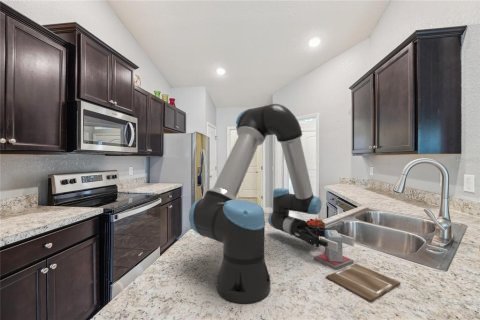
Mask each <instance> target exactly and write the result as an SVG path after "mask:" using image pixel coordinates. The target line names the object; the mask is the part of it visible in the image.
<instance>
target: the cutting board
mask: <svg viewBox="0 0 480 320" xmlns="http://www.w3.org/2000/svg"><path fill="white" fill-rule="evenodd" d="M325 278H326V279H327V280H328V281H330V282H333V284H336V285H337V286H340V287H341V288H342V289H345V290H347V291H349V292H350V293H352V294H353V295H356V296H358V297H360V298H361V299H364V300H365V301H367V302H369V303H373V302H374V301H376V300H377V299H379V298H381V297H382V296H384V295H386V294H387V293H389V292H390V291H392V290H394V289H395V288H397V287H399V286H400V285H401V282H400V281H398V280H396V279H394V278H392V277H389V276H386V275H384V274H381V273H378V272H377V271H375V270H372V269H370V268H367V267H364V266H363V265H360V264H357V263H355V264H354V263H353V265H352V264H351V265H348V266H346V267H344V268H343V269H342V268H341V269H339V270H338V271H337V270H336V271H335V272H333V273H331V274H328V275H326V276H325Z"/></svg>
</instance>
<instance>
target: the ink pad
mask: <svg viewBox="0 0 480 320" xmlns="http://www.w3.org/2000/svg"><path fill="white" fill-rule="evenodd" d="M312 260H314V261H315V262H318V263H320V264H323V266H327V267H329V268H331V269H333V270H334V271H337V270H338V271H339V270H341V269H342V268H346V267H348V266H351V265H352V264H354V259H352V258H349V257H347V256H344V255H343V262H332V261H329V259H328V257H327V255H326V253H325V252H323V253H320V254H318V255H314V256H313V259H312Z"/></svg>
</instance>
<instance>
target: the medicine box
mask: <svg viewBox="0 0 480 320" xmlns="http://www.w3.org/2000/svg"><path fill="white" fill-rule="evenodd" d="M337 231H338V230H337ZM337 231H336V230H335V229H332V230H325V237H324V238H325V239H328V240H331V241H333V242H336V243H338V252H336V251H333V250H331V249H328V248H326V247H324V253H326V255H327V257H328V259H329V261H332V262H343V256H344V255H343V254H344V253H343V243H342V237H341V236H340V234H341V233H340V232H339V233H338V232H337Z"/></svg>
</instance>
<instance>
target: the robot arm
mask: <svg viewBox="0 0 480 320" xmlns="http://www.w3.org/2000/svg"><path fill="white" fill-rule="evenodd" d="M235 121H236V122H235V124H236V126H235V129H236V135H237V139H236V141H235V142H234V145H233V147H232V149H231V150H230V153H229V155H228V157H227V159H226V161H225V163H224V165H223V167H222V169H221V171H220V173H219V175H218V177H217V180H216V181H215V184H214V186H213V187H212V188H210V189H207V190H206V192H205V194H204V195H203V197H202V198H199V199H197V200H196V201H194V203H192V205H191V207H190V210H189V213H188V222H189V226H190V227H191V229H192V230H193V231H194V232H195V233H197V234H199V236H201V237H204V238H208V239H211V240H214V241H215V242H219V243H221V244H223V246H222V247H223V249H222V250H223V254H222V261H221V264H220V268H219V271H218V273H217V277H216V291H217V293H218V294H219V295H220V296H221V297H222V298H223V299H225V300H227V301H229V302H233V303H237V304H251V303H253V304H254V303H257V302H259V301H261V300H263V299H265V298H267V296H268V295H269V294H270V292H271V283H272V282H271V277H270V274H269V271H268V270H269V269H268V267H267V263H266V260H265V236H266V235H265V233H266V231H265V229H266V228H265V227H266V220H265V211H264V208H263V207H262V206H261V205H260V204H258V203H256V202H254V201H250V200H242V199H236V198H237V196H238V194H239V191H240V188H241V187H242V184H243V182H244V179H245V178H246V175H247V172H248V170H249V167H250V165H251V163H252V160H253V159H254V156H255V154H256V152H257V149H258V147H259V146H261V145H262V144H263V143H264V142H265V140H266V138H267V136H272V135H275V136H276V137H275V138H276V141H277V142H278V143H280V145H281V148H282V152H283V156H284V160H285V164H286V167H287V171H288V175H289V179H290V182H291V185H292V187H291V188H292V190H293V193H290V189H289V188H282V187H279V188H277V187H276V188H275V189H273V192H272V212H271V213H270V214H269V216H268V218H267V220H268V222H267V223H268V224H269V226H270V227H271V228H274V229H275V230H279V231H281V232H283V233H286V234H288V235H290V236H291V237H292V236H293V237H295V238H297V239H299V240H302V241H304V242H305V243H307V244H309V245H311V246H315V247H316V248H320V246H321V247H324V248H325V247H326V248H328V249H331V250H333V251H336V252H338V243H336V242H333V241H331V240H328V239H325V230H333V229H330V228H327V227H325V228H323V227H320V226H316V227H313V226H309V225H308V224H307V220H303V219H301V218H298V217H294V216H290V211H292V212H298V213H301V214H307V215H319V213H320V212H321V210H322V206H323V205H322V200H321V198H320V197H319V196H316V195H314V193H313V189H312V188H313V187H312V184H311V180H310V175H309V171H308V166H307V163H306V157H305V153H304V147H303V144H302V139H301V138H302V137H303V131H302V127H301V125H300V122H299V120H298V119H297V117H296V116H295V114H294V113H293V112H292V111H291V110H290V109H289V108H288V107H286V106H285V105H283V104H280V103H270V104H268V105H264V106H262V105H261V106H257V107H254V108H247V109H246V110H243V111H242V112H240V113H239V114H238V116H237V118H236V120H235ZM336 231H337V232H338V233H339V234H340V236H341V237H342V244H345V245H348V246H350V247H354V246H355V238H354V237H350V236H348V235H344V234H342V233H340V231H339V230H338V229H337V230H336ZM316 232H317V235H316Z"/></svg>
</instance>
